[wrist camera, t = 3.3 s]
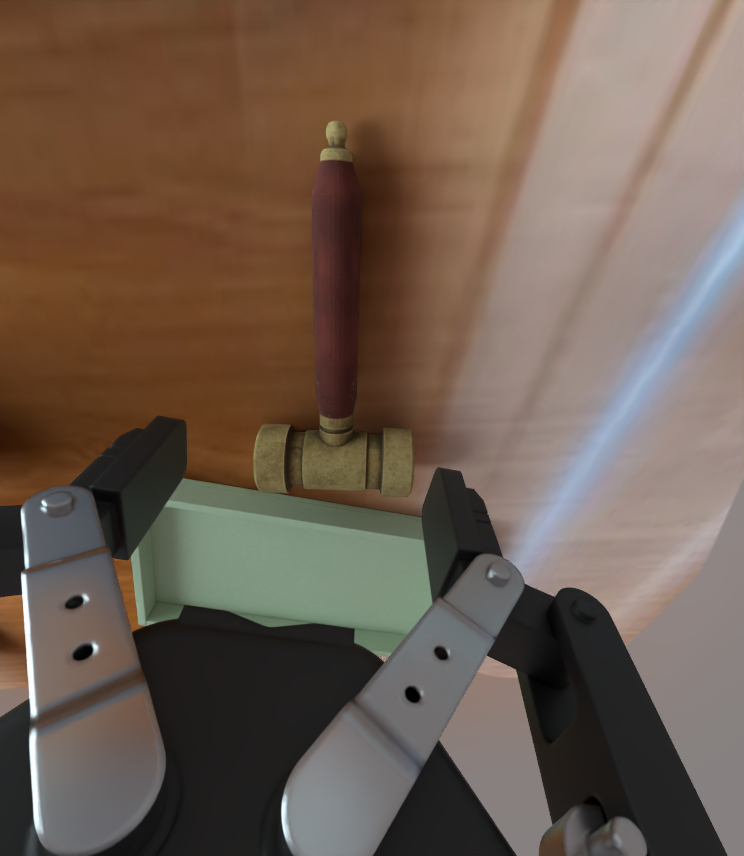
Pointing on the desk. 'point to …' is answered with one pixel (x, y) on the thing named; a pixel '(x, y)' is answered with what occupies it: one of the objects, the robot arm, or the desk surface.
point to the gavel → (335, 359)
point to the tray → (284, 563)
